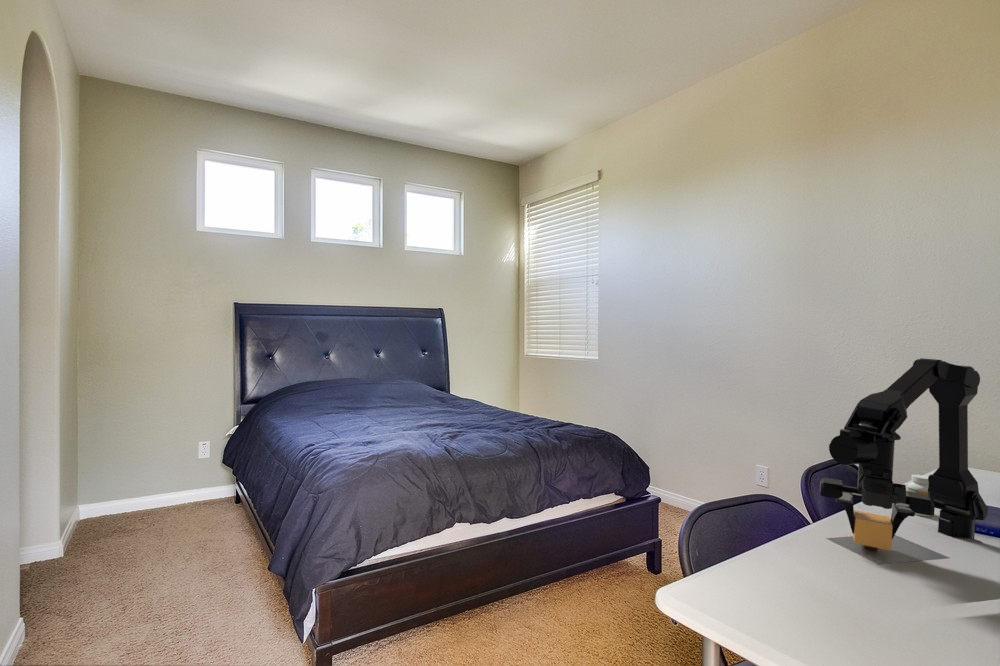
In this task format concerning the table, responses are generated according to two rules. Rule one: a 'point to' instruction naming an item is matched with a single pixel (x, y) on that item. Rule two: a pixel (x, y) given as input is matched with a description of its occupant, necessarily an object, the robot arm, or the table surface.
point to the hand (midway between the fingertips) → (871, 536)
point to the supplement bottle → (919, 487)
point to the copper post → (870, 548)
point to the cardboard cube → (872, 530)
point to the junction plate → (899, 551)
